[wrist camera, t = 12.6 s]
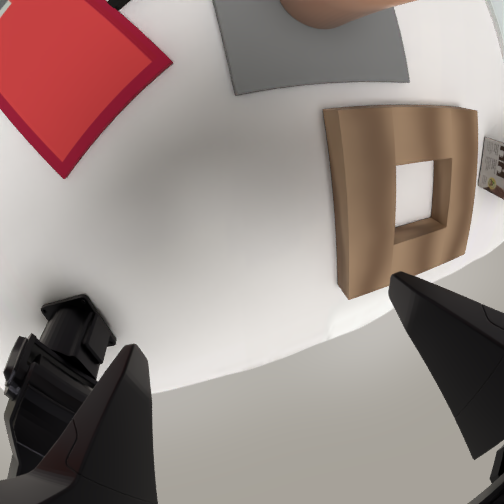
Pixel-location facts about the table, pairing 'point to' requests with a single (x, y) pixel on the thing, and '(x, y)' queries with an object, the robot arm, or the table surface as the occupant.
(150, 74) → the red board with handle
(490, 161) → the coffee box
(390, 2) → the plug
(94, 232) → the table surface
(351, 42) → the mat
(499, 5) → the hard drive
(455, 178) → the pocket board
